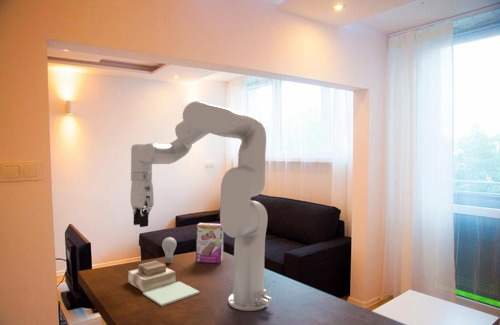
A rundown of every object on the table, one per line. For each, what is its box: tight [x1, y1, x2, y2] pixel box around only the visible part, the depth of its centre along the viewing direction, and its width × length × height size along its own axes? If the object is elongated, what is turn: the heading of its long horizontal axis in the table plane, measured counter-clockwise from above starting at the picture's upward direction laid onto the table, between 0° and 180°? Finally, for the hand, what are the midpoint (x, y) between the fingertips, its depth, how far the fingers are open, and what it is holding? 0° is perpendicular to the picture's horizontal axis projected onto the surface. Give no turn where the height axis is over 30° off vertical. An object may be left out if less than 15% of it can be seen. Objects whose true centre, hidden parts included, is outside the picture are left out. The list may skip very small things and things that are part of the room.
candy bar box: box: [195, 222, 225, 264], centre depth 140 cm, size 11×5×16 cm, turn 84°
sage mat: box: [142, 281, 201, 307], centre depth 106 cm, size 12×14×1 cm
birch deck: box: [127, 267, 177, 293], centre depth 116 cm, size 12×12×4 cm
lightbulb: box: [161, 236, 177, 264], centre depth 137 cm, size 6×6×11 cm
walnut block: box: [137, 260, 167, 276], centre depth 115 cm, size 7×7×2 cm
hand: (140, 225), depth 122 cm, fingers open, 4 cm apart
